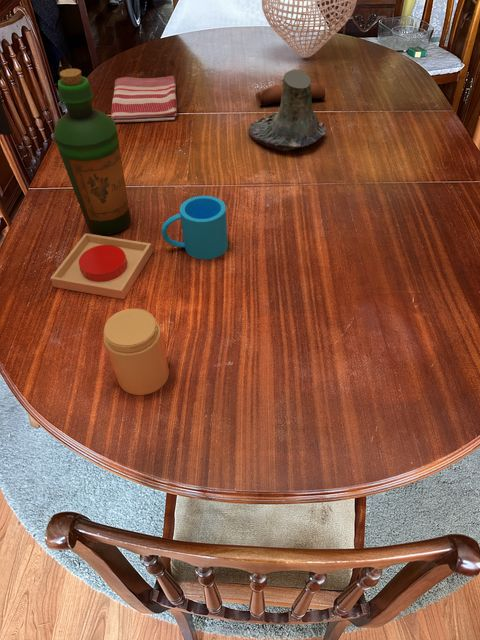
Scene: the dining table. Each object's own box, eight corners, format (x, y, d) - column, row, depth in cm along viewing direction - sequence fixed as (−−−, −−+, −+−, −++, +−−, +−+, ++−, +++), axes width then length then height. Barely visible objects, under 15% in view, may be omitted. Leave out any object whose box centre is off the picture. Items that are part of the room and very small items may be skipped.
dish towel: (175, 83, 145) (174, 73, 143) (178, 120, 129) (176, 110, 127) (115, 86, 143) (113, 76, 141) (110, 124, 128) (108, 114, 126)
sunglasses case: (315, 87, 142) (321, 70, 136) (321, 109, 141) (327, 93, 135) (253, 93, 139) (256, 76, 133) (258, 116, 138) (261, 100, 132)
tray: (53, 287, 88) (49, 278, 87) (87, 241, 97) (85, 233, 95) (124, 299, 86) (121, 290, 85) (152, 252, 95) (151, 243, 93)
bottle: (112, 246, 96) (71, 92, 74) (70, 229, 99) (19, 77, 78) (148, 218, 102) (119, 68, 80) (107, 202, 105) (69, 55, 84)
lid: (124, 281, 88) (122, 273, 87) (77, 282, 88) (74, 274, 87) (129, 251, 94) (128, 243, 92) (85, 253, 93) (82, 245, 92)
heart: (340, 45, 165) (350, -39, 149) (356, 63, 155) (368, -25, 139) (256, 51, 161) (256, -35, 144) (267, 70, 151) (268, -20, 135)
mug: (224, 230, 99) (221, 193, 93) (231, 256, 94) (229, 218, 88) (162, 238, 97) (156, 200, 91) (166, 264, 92) (159, 227, 86)
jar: (109, 389, 74) (90, 341, 66) (129, 351, 79) (115, 302, 71) (158, 399, 73) (145, 352, 65) (176, 360, 77) (166, 311, 69)
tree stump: (305, 114, 133) (321, 46, 118) (332, 167, 125) (353, 102, 109) (239, 120, 129) (246, 50, 113) (262, 176, 120) (273, 109, 105)
